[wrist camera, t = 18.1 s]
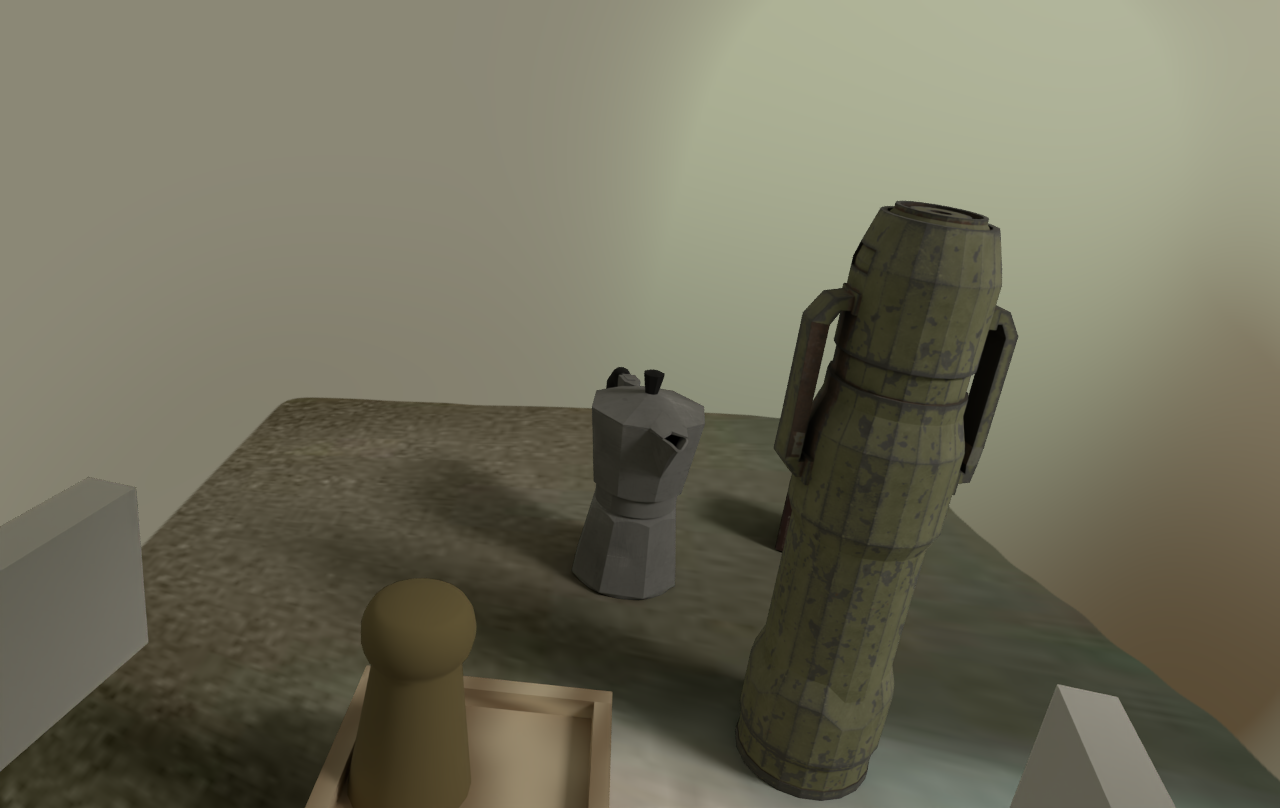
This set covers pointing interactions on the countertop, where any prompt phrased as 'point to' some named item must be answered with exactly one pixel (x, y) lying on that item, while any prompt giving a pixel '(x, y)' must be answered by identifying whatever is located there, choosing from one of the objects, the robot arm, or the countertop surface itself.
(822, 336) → the thermos
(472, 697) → the oak stand
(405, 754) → the cork
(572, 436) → the countertop surface
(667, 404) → the coffeepot
